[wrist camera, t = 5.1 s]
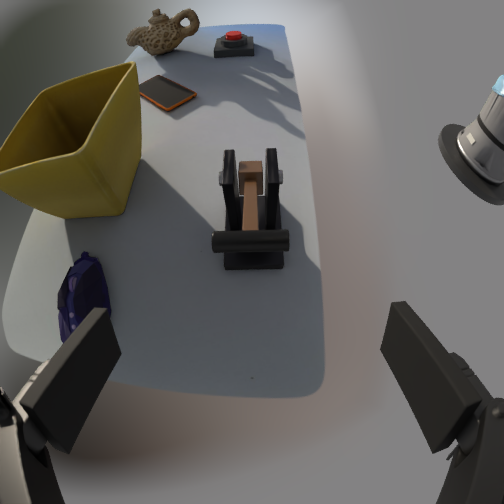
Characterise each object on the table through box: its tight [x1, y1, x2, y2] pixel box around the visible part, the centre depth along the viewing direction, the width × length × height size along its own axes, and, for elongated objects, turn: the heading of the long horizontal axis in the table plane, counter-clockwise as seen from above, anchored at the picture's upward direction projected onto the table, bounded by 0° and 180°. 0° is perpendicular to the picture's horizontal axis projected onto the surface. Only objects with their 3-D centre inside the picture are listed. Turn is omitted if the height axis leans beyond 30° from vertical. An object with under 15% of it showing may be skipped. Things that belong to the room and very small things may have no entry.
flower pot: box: [0, 62, 142, 219], centre depth 34 cm, size 19×19×17 cm
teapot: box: [126, 9, 200, 56], centre depth 57 cm, size 21×12×15 cm, turn 99°
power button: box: [226, 31, 242, 40], centre depth 57 cm, size 4×4×2 cm
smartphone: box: [139, 75, 197, 111], centre depth 52 cm, size 8×17×1 cm, turn 44°
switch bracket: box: [219, 148, 284, 270], centre depth 31 cm, size 10×7×13 cm
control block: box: [214, 34, 254, 58], centre depth 59 cm, size 10×10×4 cm
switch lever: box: [212, 161, 289, 253], centre depth 23 cm, size 12×5×2 cm, turn 1°
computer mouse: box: [58, 251, 111, 344], centre depth 31 cm, size 9×15×4 cm, turn 9°
